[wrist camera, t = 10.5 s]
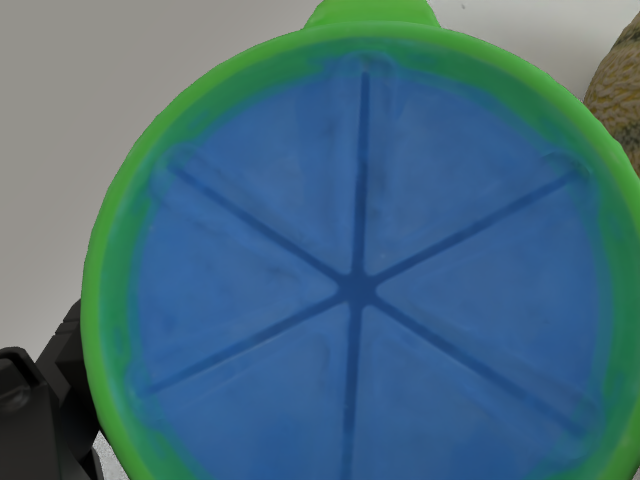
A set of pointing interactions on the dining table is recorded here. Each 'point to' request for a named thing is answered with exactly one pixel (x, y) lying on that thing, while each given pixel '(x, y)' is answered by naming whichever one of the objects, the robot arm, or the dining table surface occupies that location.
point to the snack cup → (369, 268)
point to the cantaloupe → (620, 92)
